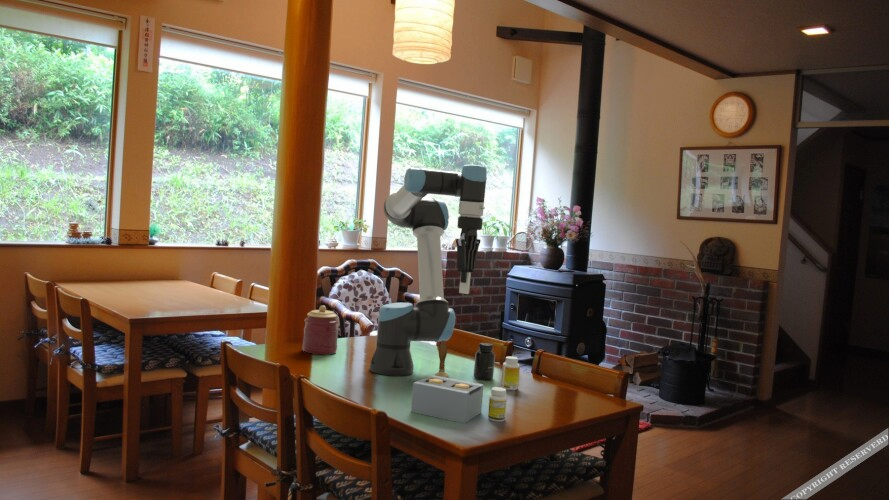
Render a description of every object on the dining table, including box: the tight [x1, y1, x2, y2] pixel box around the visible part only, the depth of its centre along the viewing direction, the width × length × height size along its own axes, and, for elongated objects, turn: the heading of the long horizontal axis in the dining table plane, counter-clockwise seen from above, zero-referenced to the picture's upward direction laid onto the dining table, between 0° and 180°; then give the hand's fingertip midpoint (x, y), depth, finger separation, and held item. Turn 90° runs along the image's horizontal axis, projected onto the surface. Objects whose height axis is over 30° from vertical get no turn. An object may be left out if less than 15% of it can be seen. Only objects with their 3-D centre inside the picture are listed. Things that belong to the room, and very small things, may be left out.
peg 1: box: [429, 379, 443, 384], centre depth 183 cm, size 4×4×8 cm
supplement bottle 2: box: [487, 386, 508, 423], centre depth 178 cm, size 5×5×8 cm
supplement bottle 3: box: [500, 355, 521, 391], centre depth 214 cm, size 6×6×10 cm
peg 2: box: [455, 384, 469, 390], centre depth 180 cm, size 4×4×8 cm
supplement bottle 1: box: [473, 342, 496, 381], centre depth 225 cm, size 7×7×12 cm
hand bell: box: [434, 340, 450, 378], centre depth 203 cm, size 8×8×16 cm
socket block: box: [410, 374, 484, 424], centre depth 181 cm, size 16×12×8 cm
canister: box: [302, 305, 340, 356], centre depth 248 cm, size 13×13×18 cm
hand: (464, 293), depth 200 cm, fingers closed
